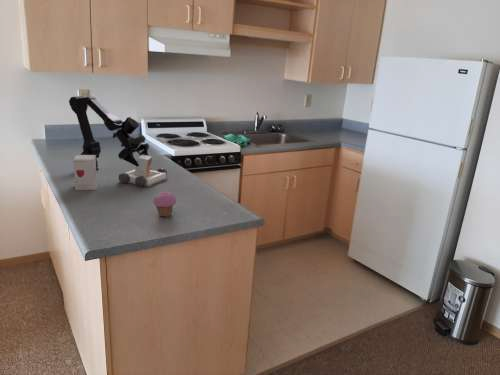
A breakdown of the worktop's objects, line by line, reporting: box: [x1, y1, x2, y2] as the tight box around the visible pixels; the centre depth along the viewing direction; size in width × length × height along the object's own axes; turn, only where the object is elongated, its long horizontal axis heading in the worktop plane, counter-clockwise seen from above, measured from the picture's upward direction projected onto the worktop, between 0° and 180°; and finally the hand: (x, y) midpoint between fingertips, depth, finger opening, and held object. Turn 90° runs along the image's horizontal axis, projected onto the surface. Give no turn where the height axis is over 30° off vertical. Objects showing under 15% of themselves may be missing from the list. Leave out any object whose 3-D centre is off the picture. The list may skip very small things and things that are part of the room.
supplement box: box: [73, 154, 98, 191], centre depth 188 cm, size 9×9×15 cm
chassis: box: [118, 167, 168, 188], centre depth 206 cm, size 20×17×5 cm
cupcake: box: [152, 191, 177, 217], centre depth 162 cm, size 9×9×10 cm
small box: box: [134, 154, 153, 178], centre depth 204 cm, size 8×6×10 cm
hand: (143, 164), depth 204 cm, fingers closed on small box, 9 cm apart
